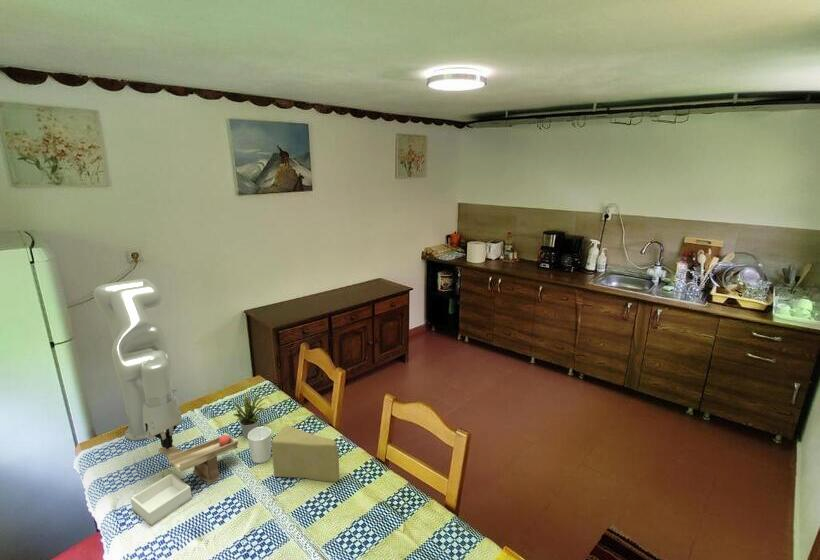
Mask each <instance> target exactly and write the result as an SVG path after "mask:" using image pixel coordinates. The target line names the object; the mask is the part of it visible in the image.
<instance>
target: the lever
mask: <svg viewBox="0 0 820 560" xmlns="http://www.w3.org/2000/svg"><path fill="white" fill-rule="evenodd" d="M223 435H227V436H228V437H229V439H230V441H229V443H228V444H227V445H225V446H221V445H220V444H219V438H220V437H221V436H223ZM238 442H239V439H238V438H235V437H234V436H232V435H230V434H229V433H226V432H224V433H222V435H220V436H217V437H215V438H211V439H209V440H208V441H205V442H202V443H200V444H197V445H195V446H192V447H189V448H187V449H184V450H181V449H179V448H178V447H176V446H175V445H173V444H172V447H170V448H169V449H166V448H164V447H162V446H161V447H160V448H158V452H159V453H161V454H162V455H163V456H165V457H166V458H168V464H169V465H170V466H171V467H173V468H175V469H176V470H178V472H184V471H186V470H189V469H191V468H193V467H194V466H196V465H198V464H201V463H203V462H205V461H207V462H208V460H207V459H209V458H211V457H212V456H214V455H217V457H220V456H222V455H224V454H226V453H229V452H231V451H233V450H236V449H237V448H238V444H239V443H238Z"/></svg>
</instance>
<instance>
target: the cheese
mask: <svg viewBox="0 0 820 560" xmlns="http://www.w3.org/2000/svg"><path fill="white" fill-rule="evenodd" d="M337 443H338V442H336V441H335V440H334V439H332V438H328V437H325V436H321V435H317V434H313V433H309V432H306V431H305V430H301V429H299V428H296V427H294V426H291V425H289V424H286V425H284V426H283V427H282V428H281V429H280V430H279V431H278V432H277V434H276V435H275V436H274V437H273V439H271V455H272V463H273V464H272V465H273V467H272V468H273V476H274V477H277V478H297V479H299V478H300V479H309V480H315V481H322V482H331V483H337V482H338V481H339V480H340V459H339V452H338V444H337Z"/></svg>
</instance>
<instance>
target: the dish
mask: <svg viewBox="0 0 820 560" xmlns="http://www.w3.org/2000/svg"><path fill="white" fill-rule="evenodd" d="M191 489H192V488H191V486H190V485H189V484H187V483H186V482H184V481H183V480H181V479H180V478H179V477H177V476H176V475H174V474H173V473H169V474H167V475H165V477H163V478H161V479H159V480H158V481H156V482H154V483H152V484H151V485H149V486H147V487H146V488H144V489H143V490H141V491H139V492H138V493H136V494H135V495H132V496H131V497H130V503H131V508H132V511H133V512H134V513H136V514H137V515H138V516H139V517H141V518H142V519H143V520H144V521H145V522H146V523H147V524H148V525H150V526H151V527H152V526H154V525H155V524H156V523H158V522H160V521H161V520H162V519H164V518H165V517H168V515H170V514H171V513H173V512H174V511H176V510H177V509H179V508H180V507H181V506H183V505H184V504H186V503H187V502H189V501H190V500H192V498H193V496H192V490H191Z"/></svg>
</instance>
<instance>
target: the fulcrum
mask: <svg viewBox="0 0 820 560" xmlns="http://www.w3.org/2000/svg"><path fill="white" fill-rule="evenodd" d="M207 460H208V462H207V461H205V462H203V463H201V464H198V465H196V466H194V469H193V470H192V473H193V474H194V475H195V476H197V477H199V478H200V479H201V480H203V481H204V482H206V483H207V484H209V485H212V484H213V483H215V482H216V481H218V480H219V479H221V478H222V474H221V473H220V472H219V471H220V470H219V465H218V464H219V463H218V456H217V455H214V456H212V457H211V458H209V459H207Z"/></svg>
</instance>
